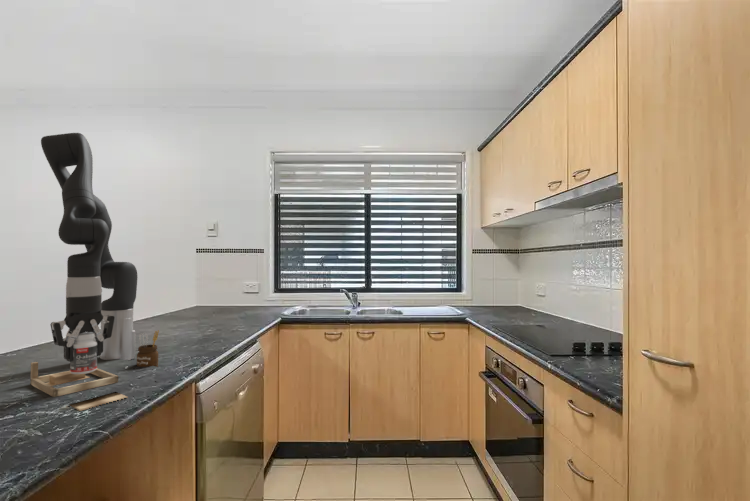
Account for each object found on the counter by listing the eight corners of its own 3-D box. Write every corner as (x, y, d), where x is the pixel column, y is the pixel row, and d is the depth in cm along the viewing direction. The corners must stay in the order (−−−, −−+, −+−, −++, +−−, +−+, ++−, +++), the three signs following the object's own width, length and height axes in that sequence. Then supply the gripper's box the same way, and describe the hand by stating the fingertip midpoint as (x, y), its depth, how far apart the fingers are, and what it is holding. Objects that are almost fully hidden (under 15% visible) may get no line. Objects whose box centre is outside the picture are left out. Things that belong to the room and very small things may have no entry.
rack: (92, 376, 115) (92, 352, 115) (118, 387, 105) (118, 361, 106) (30, 389, 103) (30, 362, 103) (53, 402, 94) (54, 373, 94)
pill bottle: (76, 376, 99) (76, 336, 100) (66, 372, 102) (66, 334, 102) (101, 370, 104) (101, 332, 104) (90, 367, 107) (91, 330, 107)
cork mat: (109, 390, 103) (109, 389, 103) (127, 398, 97) (127, 396, 97) (62, 401, 94) (62, 400, 94) (79, 411, 89) (79, 409, 89)
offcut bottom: (84, 382, 111) (84, 374, 112) (90, 384, 109) (90, 377, 109) (44, 390, 104) (44, 383, 104) (50, 393, 102) (50, 385, 102)
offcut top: (79, 376, 110) (79, 368, 110) (85, 377, 109) (85, 370, 109) (49, 383, 104) (49, 375, 104) (55, 384, 103) (55, 377, 103)
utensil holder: (146, 365, 127) (147, 328, 127) (163, 366, 126) (164, 329, 126) (131, 370, 121) (132, 331, 121) (149, 371, 120) (150, 332, 120)
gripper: (107, 290, 112) (107, 350, 111) (44, 295, 99) (44, 362, 99) (120, 292, 107) (120, 354, 107) (56, 297, 95) (56, 367, 95)
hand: (83, 357), depth 103 cm, fingers closed on pill bottle, 5 cm apart
